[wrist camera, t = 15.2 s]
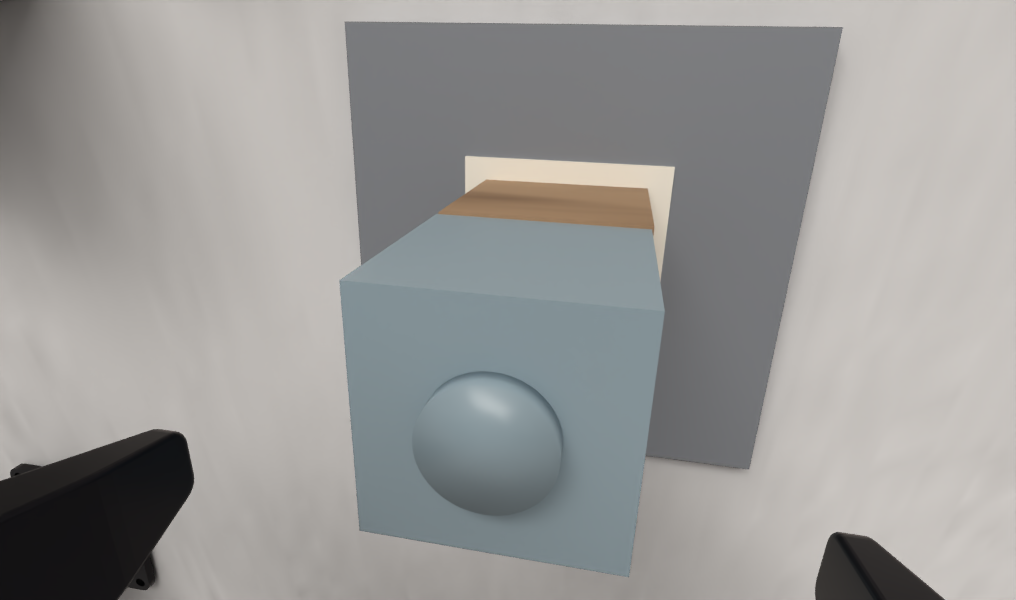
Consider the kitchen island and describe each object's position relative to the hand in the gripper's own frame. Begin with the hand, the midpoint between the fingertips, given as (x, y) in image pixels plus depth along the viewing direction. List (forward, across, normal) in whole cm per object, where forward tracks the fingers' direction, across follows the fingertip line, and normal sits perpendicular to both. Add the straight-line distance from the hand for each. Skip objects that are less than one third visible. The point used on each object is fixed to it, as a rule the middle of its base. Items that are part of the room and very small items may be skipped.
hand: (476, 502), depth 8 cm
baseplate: (+13, 0, 0) cm, 13 cm away
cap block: (+7, 0, 0) cm, 7 cm away
